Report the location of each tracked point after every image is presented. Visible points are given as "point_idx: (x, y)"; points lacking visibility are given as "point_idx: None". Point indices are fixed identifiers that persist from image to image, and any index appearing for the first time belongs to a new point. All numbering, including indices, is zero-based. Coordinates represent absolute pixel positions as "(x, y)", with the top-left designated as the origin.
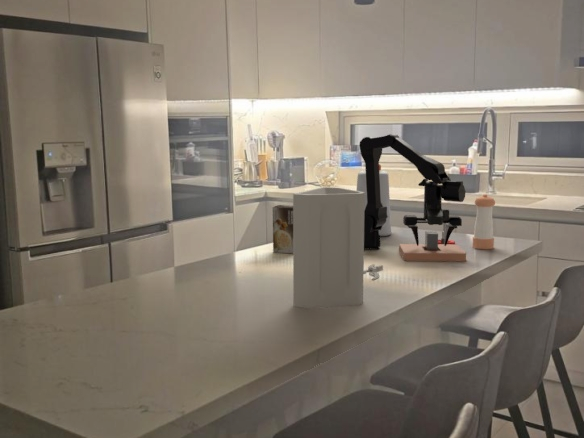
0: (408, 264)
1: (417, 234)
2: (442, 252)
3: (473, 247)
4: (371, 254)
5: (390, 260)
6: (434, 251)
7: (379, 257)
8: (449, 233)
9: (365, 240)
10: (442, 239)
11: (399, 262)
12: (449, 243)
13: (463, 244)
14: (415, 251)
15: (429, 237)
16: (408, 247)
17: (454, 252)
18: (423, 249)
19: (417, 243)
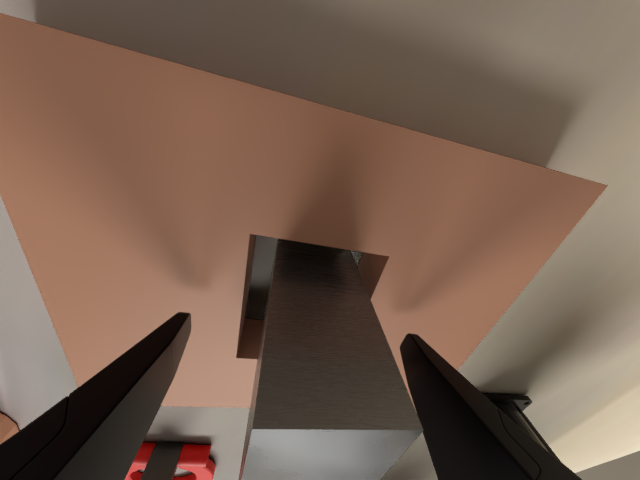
0: (635, 5)
1: (497, 434)
2: (264, 145)
3: (11, 420)
4: (563, 328)
5: (610, 191)
6: (326, 209)
7: (589, 272)
8: (6, 464)
9: (539, 440)
10: (166, 478)
11: (620, 113)
12: (139, 453)
13: None
14: (480, 231)
15: (375, 373)
16: (434, 347)
17: (116, 119)
18: (376, 291)
19: (426, 345)
